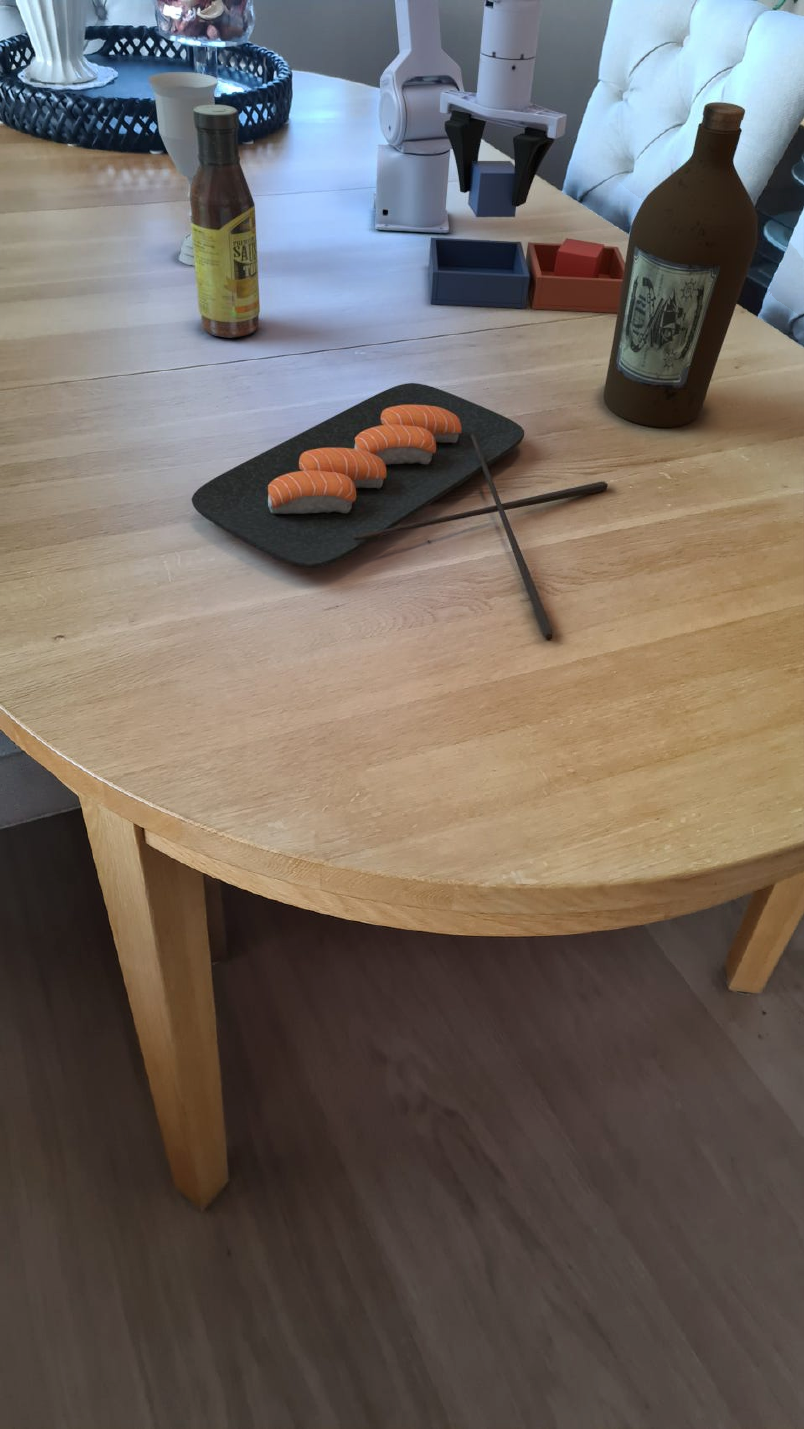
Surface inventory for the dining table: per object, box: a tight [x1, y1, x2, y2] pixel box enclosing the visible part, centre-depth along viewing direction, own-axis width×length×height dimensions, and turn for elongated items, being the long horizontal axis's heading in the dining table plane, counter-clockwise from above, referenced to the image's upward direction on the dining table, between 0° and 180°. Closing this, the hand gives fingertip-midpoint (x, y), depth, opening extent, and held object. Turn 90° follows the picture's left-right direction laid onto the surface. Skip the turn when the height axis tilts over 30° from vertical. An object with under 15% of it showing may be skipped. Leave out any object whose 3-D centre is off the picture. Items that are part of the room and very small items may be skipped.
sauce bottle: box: [189, 104, 261, 339], centre depth 94 cm, size 7×6×20 cm
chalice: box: [147, 71, 219, 267], centre depth 108 cm, size 7×7×18 cm
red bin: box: [525, 242, 626, 314], centre depth 111 cm, size 11×11×4 cm
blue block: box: [467, 160, 517, 218], centre depth 108 cm, size 4×4×4 cm
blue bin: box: [428, 237, 530, 309], centre depth 110 cm, size 11×11×4 cm
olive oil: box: [603, 101, 759, 428], centre depth 84 cm, size 11×11×25 cm
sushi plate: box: [191, 382, 609, 640], centre depth 76 cm, size 29×30×4 cm
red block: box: [554, 237, 605, 278], centre depth 110 cm, size 4×4×4 cm
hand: (492, 197), depth 109 cm, fingers closed on blue block, 6 cm apart
